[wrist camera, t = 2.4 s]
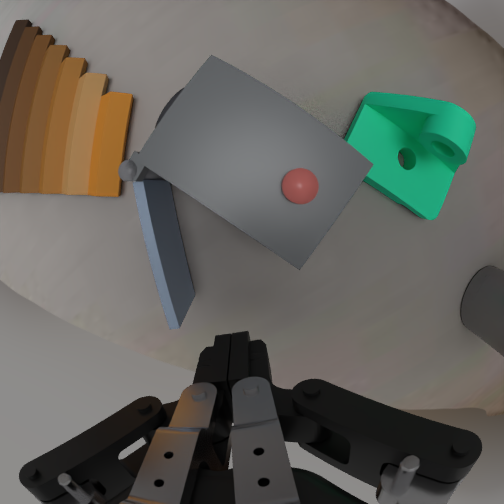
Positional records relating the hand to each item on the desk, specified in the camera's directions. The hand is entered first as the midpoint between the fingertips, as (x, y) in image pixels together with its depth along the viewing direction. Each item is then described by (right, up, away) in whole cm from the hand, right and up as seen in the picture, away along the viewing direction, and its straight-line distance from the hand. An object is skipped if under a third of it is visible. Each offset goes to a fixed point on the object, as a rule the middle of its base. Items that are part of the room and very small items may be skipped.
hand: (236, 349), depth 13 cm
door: (-7, +6, +13) cm, 16 cm away
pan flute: (-23, +24, +11) cm, 34 cm away
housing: (0, +12, +13) cm, 17 cm away
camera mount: (+15, +14, +13) cm, 24 cm away
